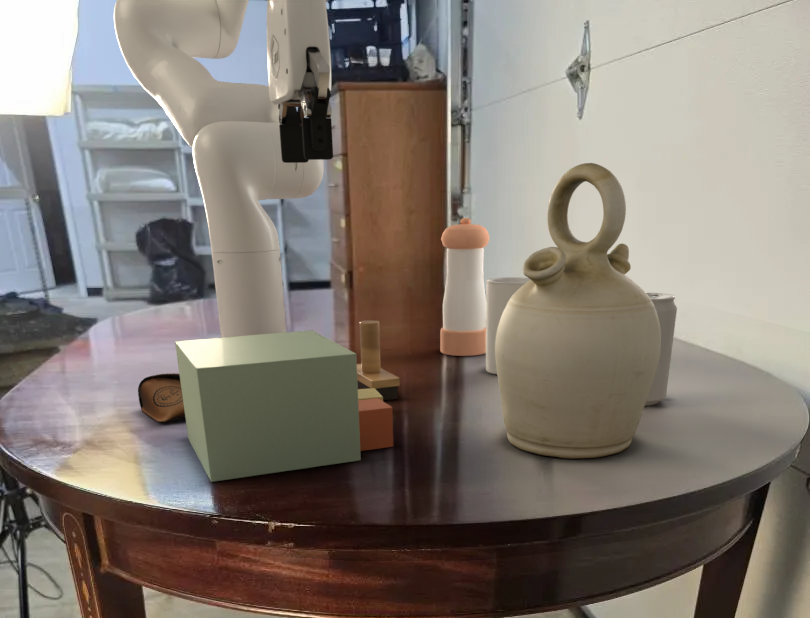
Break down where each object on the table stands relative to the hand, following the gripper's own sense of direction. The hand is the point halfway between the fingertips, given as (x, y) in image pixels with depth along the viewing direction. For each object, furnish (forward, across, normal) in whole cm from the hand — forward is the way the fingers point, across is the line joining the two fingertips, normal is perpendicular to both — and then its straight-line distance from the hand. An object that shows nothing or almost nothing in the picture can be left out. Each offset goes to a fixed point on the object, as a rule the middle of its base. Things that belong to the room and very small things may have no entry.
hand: (306, 161), depth 89 cm
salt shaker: (+26, -13, +27) cm, 40 cm away
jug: (+26, +33, +16) cm, 45 cm away
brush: (+26, +5, +5) cm, 27 cm away
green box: (+26, +23, -12) cm, 37 cm away
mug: (+26, +2, +28) cm, 39 cm away
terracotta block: (+24, +25, -5) cm, 35 cm away
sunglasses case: (+26, +4, -13) cm, 30 cm away
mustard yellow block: (+24, +21, -4) cm, 32 cm away
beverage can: (+26, +23, +32) cm, 47 cm away
